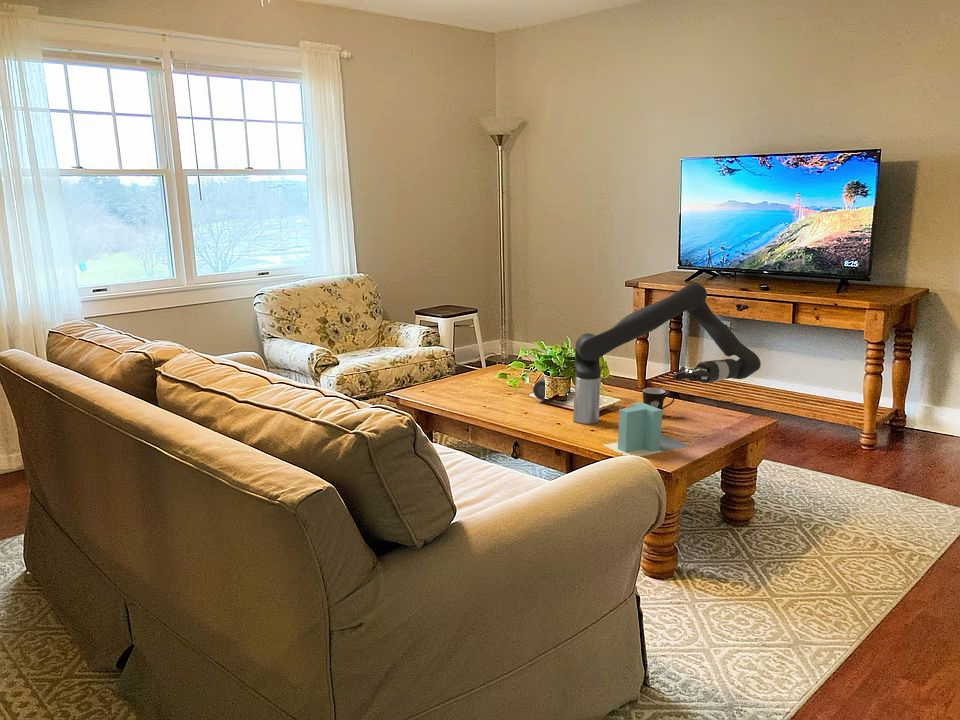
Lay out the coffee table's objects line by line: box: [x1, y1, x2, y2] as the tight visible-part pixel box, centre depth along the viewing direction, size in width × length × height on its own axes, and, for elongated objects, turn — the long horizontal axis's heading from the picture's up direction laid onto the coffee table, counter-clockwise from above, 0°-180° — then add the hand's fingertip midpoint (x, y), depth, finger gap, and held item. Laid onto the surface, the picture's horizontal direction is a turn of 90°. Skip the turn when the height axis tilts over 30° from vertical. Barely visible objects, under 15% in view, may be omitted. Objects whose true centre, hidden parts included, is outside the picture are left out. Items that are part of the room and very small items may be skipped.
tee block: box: [617, 401, 663, 453], centre depth 265 cm, size 12×11×14 cm
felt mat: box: [602, 433, 691, 457], centre depth 270 cm, size 26×15×1 cm, turn 118°
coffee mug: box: [642, 387, 675, 411], centre depth 305 cm, size 12×9×10 cm
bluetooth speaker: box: [532, 376, 546, 401], centre depth 332 cm, size 23×9×10 cm, turn 157°
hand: (674, 376), depth 270 cm, fingers closed
